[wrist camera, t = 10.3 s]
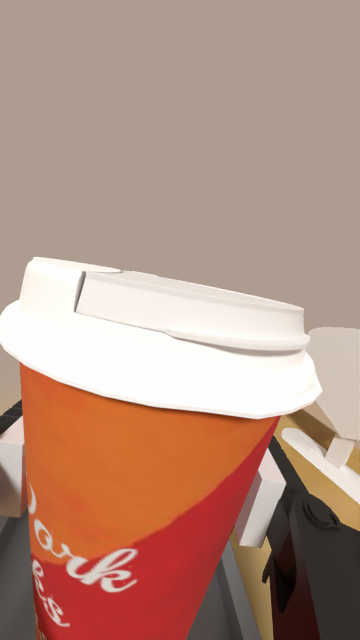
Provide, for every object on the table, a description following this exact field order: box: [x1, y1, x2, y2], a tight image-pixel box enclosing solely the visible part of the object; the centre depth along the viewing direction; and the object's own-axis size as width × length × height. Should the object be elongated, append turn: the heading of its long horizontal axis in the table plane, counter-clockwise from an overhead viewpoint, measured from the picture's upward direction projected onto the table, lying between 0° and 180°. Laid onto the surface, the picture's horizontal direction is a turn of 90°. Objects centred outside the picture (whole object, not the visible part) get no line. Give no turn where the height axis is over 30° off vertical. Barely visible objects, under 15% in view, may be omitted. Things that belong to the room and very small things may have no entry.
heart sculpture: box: [281, 327, 360, 504], centre depth 24 cm, size 16×5×18 cm, turn 29°
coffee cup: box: [0, 257, 322, 640], centre depth 8 cm, size 8×8×15 cm
